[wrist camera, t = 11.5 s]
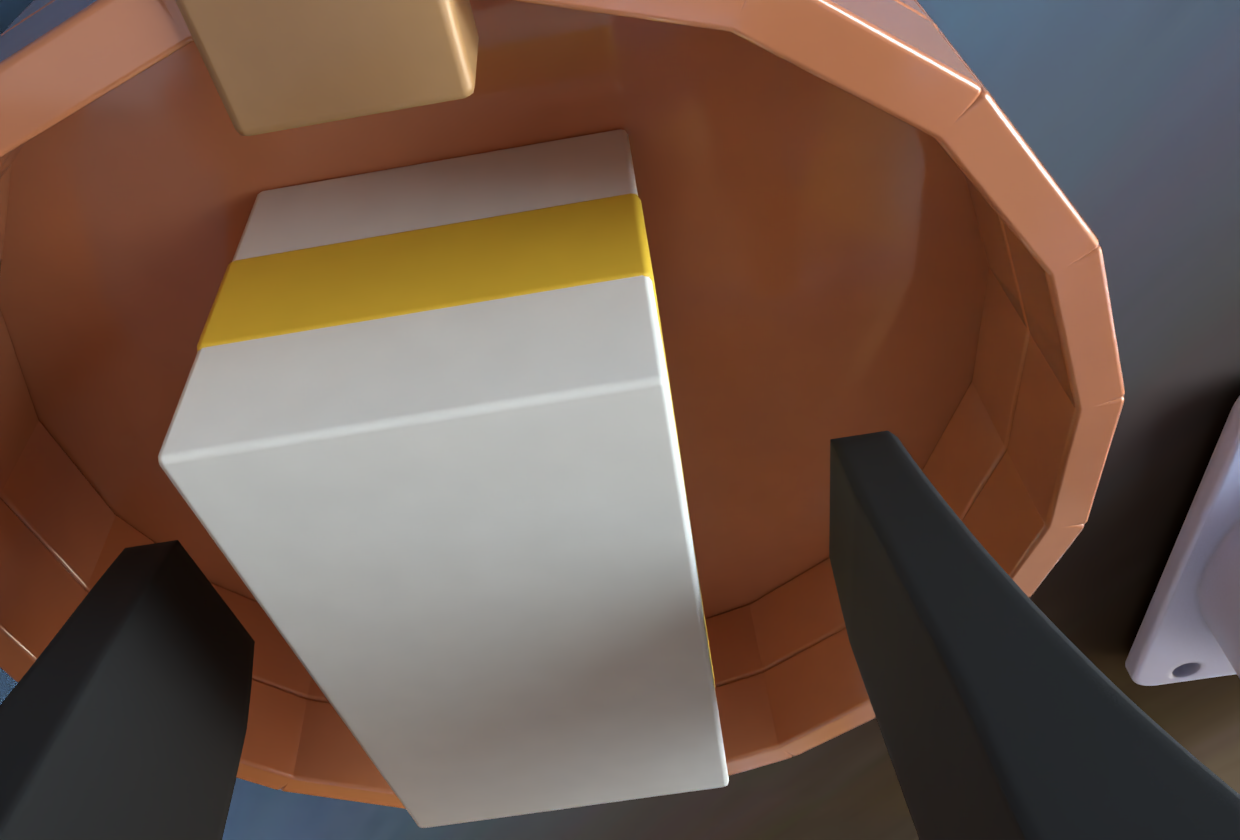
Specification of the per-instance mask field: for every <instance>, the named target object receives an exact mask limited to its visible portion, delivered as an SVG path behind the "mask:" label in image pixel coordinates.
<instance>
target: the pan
mask: <svg viewBox="0 0 1240 840" xmlns="http://www.w3.org/2000/svg"><path fill="white" fill-rule="evenodd" d="M470 4H471V8H472V12H473V16H474V20H475V24H476V28H477V32H478V36H479V42H478V54H477V66H476V79H475V87H474V93H472V94H471V95H470V96H468V97H466V98H463V99H458V100H452V101H446V102H440V103H435V104H429V105H423V106H418V107H412V108H406V109H401V110H395V111H389V112H384V113H378V114H372V115H367V116H361V117H355V118H350V119H344V120H338V121H333V122H327V123H321V124H316V125H310V126H304V127H299V128H293V129H287V130H281V131H276V132H270V133H264V134H259V135H253V136H242V135H240V134H239V133H238V132H237V131H236V130H235V128H234V126H233V124H232V121H231V119H230V117H229V115H228V113H227V111H226V108H225V106H224V104H223V102H222V100H221V98H220V96H219V93H218V91H217V89H216V87H215V85H214V83H213V81H212V78H211V76H210V74H209V72H208V70H207V68H206V66H205V63H204V61H203V59H202V57H201V55H200V53H199V51H198V48H197V46H196V44H195V42H194V40H193V38H192V35H191V33H190V31H189V29H188V27H187V25H186V23H185V20H184V18H183V16H182V14H181V12H180V10H179V8H178V5H177V3H176V1H175V0H34V1H33V2H32V3H31V4H30V5H29V6H28V7H27V8H26V9H25V10H24V11H23V12H22V13H21V14H20V15H19V16H18V17H17V18H16V19H15V20H14V21H13V22H12V23H11V24H10V25H9V26H8V27H7V28H6V29H5V30H4V31H3V32H2V34H1V35H0V668H1V669H2V670H3V671H5V672H6V673H7V674H8V675H9V676H10V677H11V678H13V679H14V680H15V681H17V682H19V681H20V680H21V679H22V677H23V676H24V675H25V674H26V672H27V671H28V670H29V669H30V667H31V666H32V665H33V664H34V662H35V661H36V660H37V659H38V657H39V656H40V655H41V653H42V652H43V651H44V650H45V648H46V647H47V646H48V644H49V643H50V642H51V641H52V639H53V638H54V637H55V635H56V634H57V633H58V632H59V630H60V629H61V628H62V626H63V625H64V624H65V623H66V621H67V620H68V619H69V617H70V616H71V615H72V613H73V612H74V611H75V610H76V608H77V607H78V606H79V604H80V603H81V602H82V601H83V599H84V598H85V597H86V596H87V594H88V593H89V592H90V590H91V589H92V588H93V587H94V585H95V584H96V583H97V582H98V580H99V579H100V578H101V577H102V575H103V574H104V573H105V572H106V570H107V569H108V568H109V567H110V565H111V564H112V563H113V562H114V561H115V559H116V558H117V557H118V556H119V555H120V553H121V552H122V551H123V550H124V549H125V548H128V547H135V546H141V545H148V544H154V543H161V542H167V541H174V540H178V541H179V542H180V543H181V545H182V546H183V547H184V549H185V550H186V551H187V553H188V554H189V555H190V557H191V558H192V559H193V561H194V562H195V563H196V565H197V566H198V567H199V568H200V570H201V571H202V572H203V574H204V575H205V576H206V578H207V579H208V580H209V582H210V583H211V584H212V586H213V587H214V588H215V590H216V591H217V592H218V594H219V595H220V596H221V597H222V599H223V600H224V601H225V603H226V604H227V605H228V607H229V608H230V609H231V611H232V612H233V613H234V615H235V616H236V617H237V619H238V620H239V621H240V623H241V624H242V625H243V627H244V628H245V629H246V630H247V632H248V633H249V634H250V636H251V637H252V638H253V640H254V641H255V645H254V658H253V672H252V685H251V696H250V705H249V714H248V723H247V730H246V735H245V740H244V745H243V749H242V754H241V758H240V763H239V767H238V772H237V776H236V777H237V778H240V779H243V780H246V781H250V782H253V783H256V784H260V785H263V786H266V787H269V788H273V789H276V790H278V789H281V790H282V791H286V792H293V793H300V794H307V795H314V796H321V797H328V798H335V799H342V800H349V801H356V802H363V803H370V804H377V805H384V806H391V807H398V808H404V809H406V808H405V807H404V805H403V804H402V803H401V801H400V800H399V798H398V797H397V796H396V794H395V793H394V791H393V790H392V789H391V787H390V786H389V784H388V783H387V782H386V780H385V779H384V777H383V776H382V775H381V773H380V772H379V770H378V769H377V768H376V766H375V765H374V763H373V762H372V761H371V759H370V758H369V756H368V755H367V754H366V752H365V751H364V750H363V748H362V747H361V745H360V744H359V743H358V741H357V740H356V738H355V737H354V736H353V734H352V733H351V731H350V730H349V729H348V727H347V726H346V724H345V723H344V722H343V720H342V719H341V717H340V716H339V715H338V713H337V712H336V710H335V709H334V708H333V706H332V705H331V703H330V702H329V701H328V699H327V698H326V697H325V695H324V694H323V692H322V691H321V690H320V688H319V687H318V685H317V684H316V683H315V681H314V680H313V678H312V677H311V676H310V674H309V673H308V671H307V670H306V669H305V667H304V666H303V664H302V663H301V662H300V660H299V659H298V657H297V656H296V655H295V653H294V652H293V650H292V649H291V648H290V646H289V645H288V644H287V642H286V641H285V639H284V638H283V637H282V635H281V634H280V632H279V631H278V630H277V628H276V627H275V625H274V624H273V623H272V621H271V620H270V618H269V617H268V616H267V614H266V613H265V611H264V610H263V609H262V607H261V606H260V604H259V603H258V602H257V600H256V599H255V597H254V596H253V595H252V593H251V592H250V591H249V589H248V588H247V586H246V585H245V584H244V582H243V581H242V579H241V578H240V577H239V575H238V574H237V572H236V571H235V570H234V568H233V567H232V565H231V564H230V563H229V561H228V560H227V558H226V557H225V556H224V554H223V553H222V551H221V550H220V549H219V547H218V546H217V544H216V543H215V542H214V540H213V539H212V538H211V536H210V535H209V533H208V532H207V531H206V529H205V528H204V526H203V525H202V524H201V522H200V521H199V519H198V518H197V517H196V515H195V514H194V512H193V511H192V510H191V508H190V507H189V505H188V504H187V503H186V501H185V500H184V498H183V497H182V496H181V494H180V493H179V491H178V490H177V489H176V487H175V486H174V485H173V483H172V482H171V480H170V479H169V478H168V476H167V475H166V473H165V472H164V471H163V469H162V468H161V466H160V465H159V461H158V455H159V452H160V449H161V447H162V444H163V442H164V439H165V436H166V434H167V431H168V428H169V426H170V423H171V420H172V418H173V415H174V413H175V410H176V407H177V405H178V402H179V399H180V397H181V394H182V392H183V389H184V386H185V384H186V381H187V378H188V376H189V373H190V371H191V368H192V365H193V363H194V360H195V357H196V355H197V344H198V342H199V339H200V337H201V334H202V331H203V329H204V326H205V324H206V321H207V318H208V316H209V313H210V311H211V308H212V305H213V303H214V300H215V298H216V295H217V292H218V290H219V287H220V285H221V282H222V279H223V277H224V274H225V272H226V269H227V266H228V264H230V263H231V262H232V260H233V258H234V255H235V252H236V250H237V247H238V244H239V242H240V239H241V237H242V234H243V231H244V229H245V226H246V223H247V221H248V218H249V216H250V213H251V210H252V208H253V205H254V202H255V200H256V197H257V195H258V194H259V193H260V192H262V191H266V190H272V189H278V188H284V187H289V186H295V185H301V184H307V183H313V182H318V181H324V180H330V179H336V178H341V177H347V176H353V175H359V174H365V173H370V172H376V171H382V170H388V169H393V168H399V167H405V166H411V165H417V164H422V163H428V162H434V161H440V160H445V159H451V158H457V157H463V156H469V155H474V154H480V153H486V152H492V151H497V150H503V149H509V148H515V147H521V146H526V145H532V144H538V143H544V142H550V141H555V140H561V139H567V138H573V137H578V136H584V135H590V134H596V133H602V132H607V131H613V130H619V129H622V130H625V131H626V133H627V134H628V138H629V144H630V150H631V156H632V162H633V168H634V174H635V180H636V186H637V192H638V197H639V199H640V200H641V204H642V210H643V216H644V222H645V228H646V234H647V240H648V246H649V252H650V258H651V264H652V270H653V276H654V282H655V289H656V295H657V302H658V309H659V315H660V322H661V329H662V335H663V342H664V348H665V355H666V362H667V368H668V375H669V382H670V388H671V395H672V401H673V408H674V415H675V421H676V428H677V435H678V441H679V448H680V455H681V461H682V468H683V474H684V481H685V488H686V494H687V501H688V508H689V514H690V521H691V528H692V534H693V541H694V547H695V554H696V561H697V567H698V574H699V581H700V587H701V594H702V600H703V607H704V614H705V620H706V627H707V634H708V640H709V647H710V654H711V660H712V667H713V673H714V680H715V691H716V698H717V705H718V711H719V718H720V724H721V731H722V738H723V744H724V751H725V757H726V764H727V770H728V776H730V775H734V774H737V773H741V772H744V771H748V770H751V769H755V768H758V767H761V766H765V765H768V764H772V763H775V762H779V761H782V760H786V759H789V758H791V757H792V756H797V755H799V754H801V753H803V752H805V751H808V750H810V749H812V748H814V747H816V746H818V745H820V744H822V743H824V742H826V741H828V740H830V739H833V738H835V737H837V736H839V735H841V734H843V733H845V732H847V731H849V730H851V729H853V728H855V727H858V726H860V725H862V724H864V723H866V722H868V721H870V720H872V719H874V718H876V716H875V713H874V711H873V708H872V705H871V702H870V699H869V696H868V694H867V691H866V688H865V685H864V682H863V679H862V677H861V674H860V671H859V668H858V665H857V662H856V659H855V657H854V654H853V651H852V648H851V645H850V642H849V638H848V634H847V630H846V626H845V622H844V617H843V613H842V609H841V605H840V601H839V597H838V592H837V588H836V584H835V579H834V575H833V571H832V566H831V562H830V558H829V526H830V439H836V438H842V437H849V436H855V435H862V434H868V433H875V432H881V431H889V432H891V433H892V434H894V435H895V436H897V437H898V438H899V440H900V441H901V443H902V444H903V445H904V447H905V448H906V450H907V451H908V453H909V454H910V455H911V457H912V458H913V459H914V461H915V462H916V463H917V465H918V466H919V468H920V469H921V470H922V472H923V473H924V474H925V475H926V477H927V478H928V479H929V481H930V482H931V483H932V485H933V486H934V487H935V488H936V490H937V491H938V492H939V494H940V495H941V496H942V497H943V499H944V500H945V501H946V502H947V504H948V505H949V506H950V507H951V509H952V510H953V511H954V512H955V513H956V515H957V516H958V517H959V518H960V520H961V521H962V522H963V523H964V524H965V526H966V527H967V528H968V529H969V531H970V532H971V533H972V534H973V535H974V536H975V538H976V539H977V540H978V541H979V542H980V543H981V545H982V546H983V547H984V548H985V549H986V550H987V552H988V553H989V554H990V555H991V556H992V557H993V558H994V559H995V561H996V562H997V563H998V564H999V565H1000V566H1001V567H1002V568H1003V569H1004V571H1005V572H1006V573H1007V574H1008V575H1009V576H1010V577H1011V578H1012V579H1013V581H1014V582H1015V583H1016V584H1017V585H1018V586H1019V587H1020V588H1021V589H1022V591H1023V592H1024V593H1025V594H1026V595H1027V596H1028V597H1029V598H1030V597H1031V596H1032V595H1033V593H1034V592H1035V591H1036V589H1037V588H1038V587H1039V585H1040V584H1041V583H1042V582H1043V580H1044V579H1045V578H1046V576H1047V575H1048V574H1049V572H1050V571H1051V570H1052V569H1053V567H1054V566H1055V565H1056V563H1057V562H1058V561H1059V559H1060V558H1061V557H1062V556H1063V554H1064V553H1065V552H1066V550H1067V549H1068V548H1069V547H1070V545H1071V544H1072V543H1073V541H1074V540H1075V539H1076V537H1077V536H1078V535H1079V534H1080V532H1081V531H1082V530H1083V528H1084V524H1085V523H1086V522H1087V521H1088V518H1089V514H1090V511H1091V508H1092V505H1093V501H1094V498H1095V495H1096V491H1097V488H1098V485H1099V482H1100V478H1101V475H1102V472H1103V469H1104V465H1105V462H1106V459H1107V456H1108V452H1109V449H1110V446H1111V443H1112V439H1113V436H1114V433H1115V430H1116V426H1117V423H1118V420H1119V417H1120V413H1121V410H1122V407H1123V404H1124V394H1125V388H1124V382H1123V376H1122V369H1121V363H1120V357H1119V351H1118V344H1117V338H1116V332H1115V326H1114V320H1113V313H1112V307H1111V301H1110V295H1109V288H1108V282H1107V276H1106V270H1105V264H1104V257H1103V251H1102V248H1101V246H1100V245H1099V243H1098V238H1097V237H1096V235H1095V234H1094V233H1093V231H1092V230H1091V229H1090V227H1089V226H1088V225H1087V223H1086V222H1085V221H1084V219H1083V218H1082V217H1081V215H1080V214H1079V213H1078V211H1077V210H1076V208H1075V207H1074V206H1073V204H1072V203H1071V202H1070V200H1069V199H1068V198H1067V196H1066V195H1065V194H1064V192H1063V191H1062V190H1061V188H1060V187H1059V186H1058V184H1057V183H1056V182H1055V180H1054V179H1053V178H1052V176H1051V175H1050V174H1049V172H1048V171H1047V170H1046V168H1045V167H1044V166H1043V164H1042V163H1041V162H1040V160H1039V159H1038V158H1037V156H1036V155H1035V153H1034V152H1033V151H1032V149H1031V148H1030V147H1029V145H1028V144H1027V143H1026V141H1025V140H1024V139H1023V137H1022V136H1021V135H1020V133H1019V132H1018V131H1017V129H1016V128H1015V127H1014V125H1013V124H1012V123H1011V121H1010V120H1009V119H1008V117H1007V116H1006V115H1005V113H1004V112H1003V111H1002V109H1001V108H1000V107H999V105H998V104H997V103H996V101H995V100H994V98H993V97H992V96H991V94H990V93H989V92H988V91H987V89H986V88H985V87H984V85H983V84H982V83H981V82H980V80H979V79H978V78H977V76H976V75H975V74H974V73H973V71H972V70H971V69H970V67H969V66H968V65H967V64H966V62H965V61H964V60H963V59H962V57H961V56H960V55H959V53H958V52H957V51H956V50H955V48H954V47H953V46H952V44H951V43H950V42H949V41H948V39H947V38H946V37H945V35H944V34H943V33H942V32H941V30H940V29H939V28H938V27H937V25H936V24H935V23H934V21H933V20H932V19H931V18H930V16H929V15H928V14H927V12H926V11H925V10H924V9H923V7H922V6H921V5H920V3H919V2H918V1H917V0H470Z"/></svg>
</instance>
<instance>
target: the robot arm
mask: <svg viewBox="0 0 1240 840" xmlns="http://www.w3.org/2000/svg"><path fill="white" fill-rule="evenodd" d="M829 558H830V562H831V566H832V571H833V575H834V579H835V584H836V588H837V592H838V597H839V601H840V605H841V609H842V613H843V617H844V622H845V626H846V630H847V634H848V638H849V642H850V645H851V648H852V651H853V654H854V657H855V659H856V662H857V665H858V668H859V671H860V674H861V677H862V679H863V682H864V685H865V688H866V691H867V694H868V696H869V699H870V702H871V705H872V708H873V711H874V713H875V716H876V719H877V722H878V725H879V727H880V730H881V733H882V736H883V739H884V741H885V744H886V747H887V750H888V753H889V755H890V758H891V761H892V764H893V767H894V769H895V772H896V775H897V778H898V781H899V783H900V786H901V789H902V792H903V795H904V798H905V800H906V803H907V806H908V809H909V812H910V814H911V817H912V820H913V823H914V826H915V828H916V831H917V834H918V837H919V840H1240V795H1239V794H1238V793H1237V792H1235V791H1234V790H1233V789H1232V788H1231V787H1230V786H1228V785H1227V784H1226V783H1225V782H1224V781H1222V780H1221V779H1220V778H1219V777H1218V776H1216V775H1215V774H1214V773H1213V772H1212V771H1211V770H1209V769H1208V768H1207V767H1206V766H1205V765H1203V764H1202V763H1201V762H1200V761H1199V760H1197V759H1196V758H1195V757H1194V756H1193V755H1192V754H1190V753H1189V752H1188V751H1187V750H1186V749H1185V748H1184V747H1183V746H1181V745H1180V744H1179V743H1178V742H1177V741H1176V740H1175V739H1174V738H1172V737H1171V736H1170V735H1169V734H1168V733H1167V732H1166V731H1165V730H1163V729H1162V728H1161V727H1160V726H1159V725H1158V724H1157V723H1156V722H1154V721H1153V720H1152V719H1151V718H1150V717H1149V716H1148V715H1147V714H1146V713H1144V712H1143V711H1142V710H1141V709H1140V708H1139V707H1138V706H1137V705H1136V704H1135V703H1134V702H1133V701H1131V700H1130V699H1129V698H1128V697H1127V696H1126V695H1125V694H1124V693H1123V692H1122V691H1121V690H1120V689H1119V688H1118V687H1117V686H1116V685H1115V684H1114V683H1112V682H1111V681H1110V680H1109V679H1108V678H1107V677H1106V676H1105V675H1104V674H1103V673H1102V672H1101V671H1100V670H1099V669H1098V668H1097V667H1096V666H1095V665H1094V664H1093V663H1092V662H1091V661H1090V660H1089V659H1088V658H1087V657H1086V656H1085V655H1084V654H1083V653H1082V652H1081V651H1080V650H1079V649H1078V648H1077V647H1076V646H1075V645H1074V644H1073V643H1072V642H1071V641H1070V640H1069V639H1068V638H1067V637H1066V636H1065V635H1064V634H1063V633H1062V632H1061V631H1060V630H1059V629H1058V628H1057V627H1056V626H1055V625H1054V624H1053V623H1052V622H1051V621H1050V620H1049V618H1048V617H1047V616H1046V615H1045V614H1044V613H1043V612H1042V611H1041V610H1040V609H1039V608H1038V607H1037V606H1036V605H1035V604H1034V603H1033V602H1032V601H1031V599H1030V598H1029V597H1028V596H1027V595H1026V594H1025V593H1024V592H1023V591H1022V589H1021V588H1020V587H1019V586H1018V585H1017V584H1016V583H1015V582H1014V581H1013V579H1012V578H1011V577H1010V576H1009V575H1008V574H1007V573H1006V572H1005V571H1004V569H1003V568H1002V567H1001V566H1000V565H999V564H998V563H997V562H996V561H995V559H994V558H993V557H992V556H991V555H990V554H989V553H988V552H987V550H986V549H985V548H984V547H983V546H982V545H981V543H980V542H979V541H978V540H977V539H976V538H975V536H974V535H973V534H972V533H971V532H970V531H969V529H968V528H967V527H966V526H965V524H964V523H963V522H962V521H961V520H960V518H959V517H958V516H957V515H956V513H955V512H954V511H953V510H952V509H951V507H950V506H949V505H948V504H947V502H946V501H945V500H944V499H943V497H942V496H941V495H940V494H939V492H938V491H937V490H936V488H935V487H934V486H933V485H932V483H931V482H930V481H929V479H928V478H927V477H926V475H925V474H924V473H923V472H922V470H921V469H920V468H919V466H918V465H917V463H916V462H915V461H914V459H913V458H912V457H911V455H910V454H909V453H908V451H907V450H906V448H905V447H904V445H903V444H902V443H901V441H900V440H899V438H898V437H897V436H895V435H894V434H892V433H891V432H889V431H881V432H875V433H868V434H862V435H855V436H849V437H842V438H836V439H830V526H829ZM254 645H255V641H254V640H253V638H252V637H251V636H250V634H249V633H248V632H247V630H246V629H245V628H244V627H243V625H242V624H241V623H240V621H239V620H238V619H237V617H236V616H235V615H234V613H233V612H232V611H231V609H230V608H229V607H228V605H227V604H226V603H225V601H224V600H223V599H222V597H221V596H220V595H219V594H218V592H217V591H216V590H215V588H214V587H213V586H212V584H211V583H210V582H209V580H208V579H207V578H206V576H205V575H204V574H203V572H202V571H201V570H200V568H199V567H198V566H197V565H196V563H195V562H194V561H193V559H192V558H191V557H190V555H189V554H188V553H187V551H186V550H185V549H184V547H183V546H182V545H181V543H180V542H179V541H178V540H174V541H167V542H161V543H154V544H148V545H141V546H135V547H128V548H125V549H124V550H123V551H122V552H121V553H120V555H119V556H118V557H117V558H116V559H115V561H114V562H113V563H112V564H111V565H110V567H109V568H108V569H107V570H106V572H105V573H104V574H103V575H102V577H101V578H100V579H99V580H98V582H97V583H96V584H95V585H94V587H93V588H92V589H91V590H90V592H89V593H88V594H87V596H86V597H85V598H84V599H83V601H82V602H81V603H80V604H79V606H78V607H77V608H76V610H75V611H74V612H73V613H72V615H71V616H70V617H69V619H68V620H67V621H66V623H65V624H64V625H63V626H62V628H61V629H60V630H59V632H58V633H57V634H56V635H55V637H54V638H53V639H52V641H51V642H50V643H49V644H48V646H47V647H46V648H45V650H44V651H43V652H42V653H41V655H40V656H39V657H38V659H37V660H36V661H35V662H34V664H33V665H32V666H31V667H30V669H29V670H28V671H27V672H26V674H25V675H24V676H23V677H22V679H21V680H20V681H19V682H18V684H17V685H16V686H15V688H14V689H13V690H12V691H11V693H10V694H9V695H8V696H7V698H6V699H5V700H4V701H3V703H2V704H1V705H0V840H222V837H223V833H224V829H225V824H226V820H227V816H228V812H229V807H230V803H231V799H232V794H233V790H234V785H235V781H236V776H237V772H238V767H239V763H240V758H241V754H242V749H243V745H244V740H245V735H246V730H247V723H248V714H249V705H250V696H251V685H252V672H253V658H254ZM1125 667H1126V669H1127V671H1128V673H1129V674H1130V676H1131V678H1132V680H1133V681H1134V682H1135V683H1136V684H1140V685H1144V686H1155V685H1162V684H1170V683H1177V682H1184V681H1191V680H1198V679H1205V678H1213V677H1220V676H1227V675H1234V674H1237V675H1238V677H1239V678H1240V396H1239V397H1238V399H1237V400H1236V402H1235V403H1234V405H1233V407H1232V409H1231V411H1230V414H1229V416H1228V418H1227V421H1226V423H1225V425H1224V428H1223V430H1222V433H1221V435H1220V437H1219V440H1218V442H1217V445H1216V447H1215V449H1214V452H1213V454H1212V456H1211V459H1210V461H1209V464H1208V466H1207V468H1206V471H1205V473H1204V476H1203V478H1202V480H1201V483H1200V485H1199V487H1198V490H1197V492H1196V495H1195V497H1194V499H1193V502H1192V504H1191V507H1190V509H1189V511H1188V514H1187V516H1186V519H1185V521H1184V523H1183V526H1182V528H1181V530H1180V533H1179V535H1178V538H1177V540H1176V542H1175V545H1174V547H1173V550H1172V552H1171V554H1170V557H1169V559H1168V561H1167V564H1166V566H1165V569H1164V571H1163V573H1162V576H1161V578H1160V581H1159V583H1158V585H1157V588H1156V590H1155V592H1154V595H1153V597H1152V600H1151V602H1150V604H1149V607H1148V609H1147V612H1146V614H1145V616H1144V619H1143V621H1142V624H1141V626H1140V628H1139V631H1138V633H1137V635H1136V638H1135V640H1134V643H1133V645H1132V647H1131V650H1130V652H1129V655H1128V657H1127V659H1126V663H1125Z"/></svg>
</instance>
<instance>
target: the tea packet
mask: <svg viewBox="0 0 1240 840" xmlns="http://www.w3.org/2000/svg"><path fill="white" fill-rule="evenodd" d="M158 461H159V465H160V466H161V468H162V469H163V471H164V472H165V473H166V475H167V476H168V478H169V479H170V480H171V482H172V483H173V485H174V486H175V487H176V489H177V490H178V491H179V493H180V494H181V496H182V497H183V498H184V500H185V501H186V503H187V504H188V505H189V507H190V508H191V510H192V511H193V512H194V514H195V515H196V517H197V518H198V519H199V521H200V522H201V524H202V525H203V526H204V528H205V529H206V531H207V532H208V533H209V535H210V536H211V538H212V539H213V540H214V542H215V543H216V544H217V546H218V547H219V549H220V550H221V551H222V553H223V554H224V556H225V557H226V558H227V560H228V561H229V563H230V564H231V565H232V567H233V568H234V570H235V571H236V572H237V574H238V575H239V577H240V578H241V579H242V581H243V582H244V584H245V585H246V586H247V588H248V589H249V591H250V592H251V593H252V595H253V596H254V597H255V599H256V600H257V602H258V603H259V604H260V606H261V607H262V609H263V610H264V611H265V613H266V614H267V616H268V617H269V618H270V620H271V621H272V623H273V624H274V625H275V627H276V628H277V630H278V631H279V632H280V634H281V635H282V637H283V638H284V639H285V641H286V642H287V644H288V645H289V646H290V648H291V649H292V650H293V652H294V653H295V655H296V656H297V657H298V659H299V660H300V662H301V663H302V664H303V666H304V667H305V669H306V670H307V671H308V673H309V674H310V676H311V677H312V678H313V680H314V681H315V683H316V684H317V685H318V687H319V688H320V690H321V691H322V692H323V694H324V695H325V697H326V698H327V699H328V701H329V702H330V703H331V705H332V706H333V708H334V709H335V710H336V712H337V713H338V715H339V716H340V717H341V719H342V720H343V722H344V723H345V724H346V726H347V727H348V729H349V730H350V731H351V733H352V734H353V736H354V737H355V738H356V740H357V741H358V743H359V744H360V745H361V747H362V748H363V750H364V751H365V752H366V754H367V755H368V756H369V758H370V759H371V761H372V762H373V763H374V765H375V766H376V768H377V769H378V770H379V772H380V773H381V775H382V776H383V777H384V779H385V780H386V782H387V783H388V784H389V786H390V787H391V789H392V790H393V791H394V793H395V794H396V796H397V797H398V798H399V800H400V801H401V803H402V804H403V805H404V807H405V808H406V809H407V811H408V812H409V814H410V815H411V816H412V818H413V819H414V821H415V822H416V823H417V825H418V826H419V827H421V828H428V827H435V826H443V825H450V824H457V823H464V822H472V821H479V820H486V819H494V818H501V817H508V816H516V815H523V814H530V813H537V812H545V811H552V810H559V809H567V808H574V807H581V806H588V805H596V804H603V803H610V802H618V801H625V800H632V799H640V798H647V797H654V796H661V795H669V794H676V793H683V792H691V791H698V790H705V789H712V788H720V787H725V786H727V785H728V782H729V777H728V770H727V764H726V757H725V751H724V744H723V738H722V731H721V724H720V718H719V711H718V705H717V698H716V691H715V680H714V673H713V667H712V660H711V654H710V647H709V640H708V634H707V627H706V620H705V614H704V607H703V600H702V594H701V587H700V581H699V574H698V567H697V561H696V554H695V547H694V541H693V534H692V528H691V521H690V514H689V508H688V501H687V494H686V488H685V481H684V474H683V468H682V461H681V455H680V448H679V441H678V435H677V428H676V421H675V415H674V408H673V401H672V395H671V388H670V382H669V375H668V368H667V362H666V355H665V348H664V342H663V335H662V329H661V322H660V315H659V309H658V302H657V295H656V289H655V282H654V276H653V270H652V264H651V258H650V252H649V246H648V240H647V234H646V228H645V222H644V216H643V210H642V204H641V200H640V199H639V197H638V192H637V186H636V180H635V174H634V168H633V162H632V156H631V150H630V144H629V138H628V134H627V133H626V131H625V130H622V129H619V130H613V131H607V132H602V133H596V134H590V135H584V136H578V137H573V138H567V139H561V140H555V141H550V142H544V143H538V144H532V145H526V146H521V147H515V148H509V149H503V150H497V151H492V152H486V153H480V154H474V155H469V156H463V157H457V158H451V159H445V160H440V161H434V162H428V163H422V164H417V165H411V166H405V167H399V168H393V169H388V170H382V171H376V172H370V173H365V174H359V175H353V176H347V177H341V178H336V179H330V180H324V181H318V182H313V183H307V184H301V185H295V186H289V187H284V188H278V189H272V190H266V191H262V192H260V193H259V194H258V195H257V197H256V200H255V202H254V205H253V208H252V210H251V213H250V216H249V218H248V221H247V223H246V226H245V229H244V231H243V234H242V237H241V239H240V242H239V244H238V247H237V250H236V252H235V255H234V258H233V260H232V262H231V263H230V264H228V266H227V269H226V272H225V274H224V277H223V279H222V282H221V285H220V287H219V290H218V292H217V295H216V298H215V300H214V303H213V305H212V308H211V311H210V313H209V316H208V318H207V321H206V324H205V326H204V329H203V331H202V334H201V337H200V339H199V342H198V344H197V355H196V357H195V360H194V363H193V365H192V368H191V371H190V373H189V376H188V378H187V381H186V384H185V386H184V389H183V392H182V394H181V397H180V399H179V402H178V405H177V407H176V410H175V413H174V415H173V418H172V420H171V423H170V426H169V428H168V431H167V434H166V436H165V439H164V442H163V444H162V447H161V449H160V452H159V455H158Z"/></svg>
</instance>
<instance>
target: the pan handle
mask: <svg viewBox="0 0 1240 840" xmlns="http://www.w3.org/2000/svg"><path fill="white" fill-rule="evenodd" d="M175 1H176V3H177V5H178V8H179V10H180V12H181V14H182V16H183V18H184V20H185V23H186V25H187V27H188V29H189V31H190V33H191V35H192V38H193V40H194V42H195V44H196V46H197V48H198V51H199V53H200V55H201V57H202V59H203V61H204V63H205V66H206V68H207V70H208V72H209V74H210V76H211V78H212V81H213V83H214V85H215V87H216V89H217V91H218V93H219V96H220V98H221V100H222V102H223V104H224V106H225V108H226V111H227V113H228V115H229V117H230V119H231V121H232V124H233V126H234V128H235V130H236V131H237V132H238V133H239V134H240V135H242V136H253V135H259V134H264V133H270V132H276V131H281V130H287V129H293V128H299V127H304V126H310V125H316V124H321V123H327V122H333V121H338V120H344V119H350V118H355V117H361V116H367V115H372V114H378V113H384V112H389V111H395V110H401V109H406V108H412V107H418V106H423V105H429V104H435V103H440V102H446V101H452V100H458V99H463V98H466V97H468V96H470V95H471V94H472V93H474V87H475V79H476V66H477V54H478V42H479V36H478V32H477V28H476V24H475V20H474V16H473V12H472V8H471V4H470V0H175Z"/></svg>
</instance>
